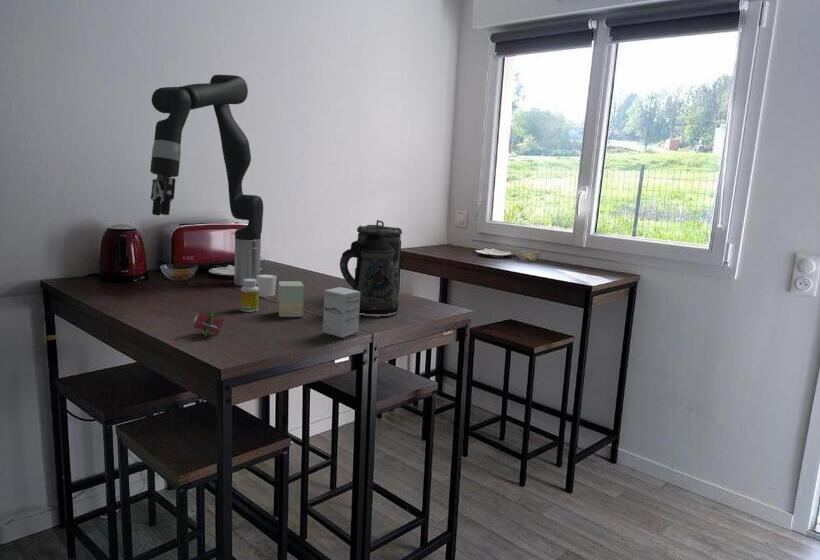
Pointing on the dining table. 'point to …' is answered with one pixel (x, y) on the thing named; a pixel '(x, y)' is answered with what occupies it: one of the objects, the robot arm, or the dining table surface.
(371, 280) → the beer stein
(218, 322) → the geometric puzzle
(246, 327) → the dining table surface
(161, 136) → the robot arm
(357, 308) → the supplement box
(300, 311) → the tower base block
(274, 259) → the dining table surface
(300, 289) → the tower top block
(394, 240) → the canister
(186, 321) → the dining table surface
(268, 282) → the shot glass
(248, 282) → the supplement bottle
